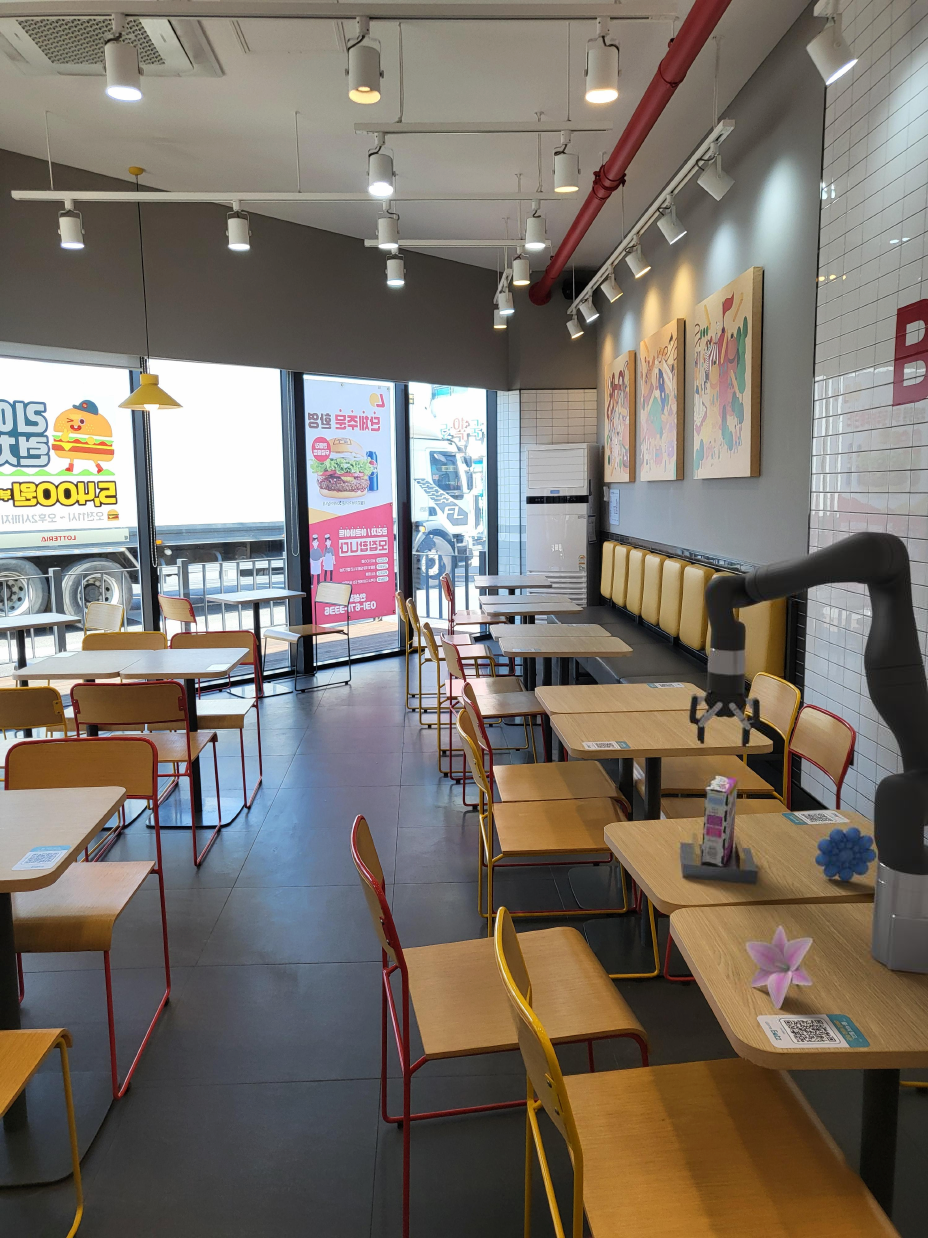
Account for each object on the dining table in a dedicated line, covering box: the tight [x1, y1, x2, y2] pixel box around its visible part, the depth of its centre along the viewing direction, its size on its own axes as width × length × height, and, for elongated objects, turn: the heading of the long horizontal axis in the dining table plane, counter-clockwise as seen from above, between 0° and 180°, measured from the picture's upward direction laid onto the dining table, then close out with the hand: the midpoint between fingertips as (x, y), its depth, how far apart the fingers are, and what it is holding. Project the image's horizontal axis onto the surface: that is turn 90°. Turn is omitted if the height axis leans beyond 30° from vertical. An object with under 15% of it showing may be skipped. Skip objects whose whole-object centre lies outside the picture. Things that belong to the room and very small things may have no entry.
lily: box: [745, 925, 813, 1010], centre depth 133 cm, size 12×12×10 cm
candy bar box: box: [701, 775, 738, 867], centre depth 178 cm, size 11×5×16 cm, turn 152°
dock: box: [679, 832, 758, 885], centre depth 179 cm, size 12×15×6 cm
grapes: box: [814, 826, 878, 882], centre depth 174 cm, size 12×7×12 cm, turn 69°
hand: (722, 744), depth 176 cm, fingers open, 8 cm apart
